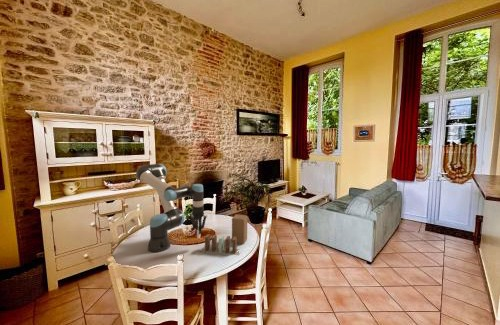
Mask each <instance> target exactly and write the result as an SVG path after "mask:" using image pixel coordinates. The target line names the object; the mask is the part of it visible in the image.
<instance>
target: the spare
mask: <svg viewBox="0 0 500 325" xmlns="http://www.w3.org/2000/svg"><path fill="white" fill-rule="evenodd" d="M224 243H225V242H224V235H220V236H219V237H218V247H219V252H222V251H223V249H224V248H225V246H224Z"/></svg>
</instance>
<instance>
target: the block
mask: <svg viewBox="0 0 500 325" xmlns="http://www.w3.org/2000/svg"><path fill="white" fill-rule="evenodd" d="M234 237H237V245H244V244H245V243H246V242H247V240H248V215H245V214H238V213H237V214H235V215H234V216H233V217H232V218H231V241H232V240H233V238H234Z"/></svg>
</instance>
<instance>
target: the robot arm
mask: <svg viewBox="0 0 500 325" xmlns="http://www.w3.org/2000/svg"><path fill="white" fill-rule="evenodd" d="M167 171H168V170H167V168H166V166H165V165H164V164H162V163H153V164H152V163H151V164H143V165H140V166H139V167H138V168H137V169H136V173H135V175H136V179H137V180H138V181H140V182H141V183H143V184H147V185H148V186H150V187H151V188H153V189H154V190H156V193H157V195H158V198H159V200H160V203H161V205H162V208H163V213H157V214H155V215H153V216H152V217H151V218H150V219H149V233H150V234H149V235H150V237H149V238H150V239H149V242H148V244H147V249H148V251H149V252H151V253H159V252H164V251H166V250H168V249H169V248H170V247H171V241H170V238H169V235H168V234H169V233H168V231H170V230H172V229H174V228H177V227H180V226H181V225H183V224H184V222H185V217H186V216H185V213H184V211H182V210H181V209H180V208H179V207H177V206H176V205H175V202H174V201H176V200H180V199H183V198H187V197H189V198H192V214H190V215H189V218H190V220H191V224H192V229H195V234H196V239H201V234H202V230H203V229H204V228H205V225H206V219H207V218H208V215H206V214H205V212H204V209H205V208H204V203H205V202H204V185H203V184H201V183H195V184H192V185H186V184H184V185H183V184H182V185H181V186H179V187H177V188H176V187H173V186H172V185H170V184H168V183H167V182H166V178H167V175H168V174H167ZM202 218H203V219H202Z"/></svg>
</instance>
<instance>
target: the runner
mask: <svg viewBox="0 0 500 325" xmlns="http://www.w3.org/2000/svg"><path fill="white" fill-rule="evenodd" d="M238 250H240V248H237V251H238ZM237 251H236V253H235V254H232V248H231V247H230V251H229V253H225V247H224V249H223V251H222V252H219V246H217V249H216V250H215V252H212V246H210V249H209V250H208V251H205V245H204V246H203V247H202V248H201V250H200V252H201V253H212V254H220V255H232V256H240V254H241V252H240V253H239V251H238V252H237Z"/></svg>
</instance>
